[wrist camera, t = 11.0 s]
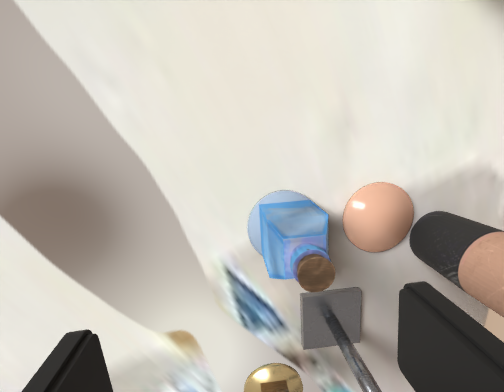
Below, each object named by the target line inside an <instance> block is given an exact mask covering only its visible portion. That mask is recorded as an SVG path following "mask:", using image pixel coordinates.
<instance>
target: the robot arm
mask: <svg viewBox="0 0 504 392" xmlns="http://www.w3.org/2000/svg"><path fill="white" fill-rule="evenodd" d="M398 365H399V368H400V370H401V372H402V373H403V375H404V376H405V378H406V379H407V380H408V382H409V383H410V385H411V386H412V387H413V389H414V390H415V392H504V343H503V342H502V341H501V340H499V339H498V338H497V337H496V336H495V335H493V334H492V333H491V332H489V331H488V330H487V329H486V328H484V327H483V326H482V325H481V324H479V323H478V322H477V321H475V320H474V319H473V318H472V317H470V316H469V315H468V314H467V313H465V312H464V311H463V310H461V309H460V308H459V307H458V306H456V305H455V304H454V303H453V302H451V301H450V300H449V299H447V298H446V297H445V296H444V295H442V294H441V293H440V292H439V291H437V290H436V289H435V288H433V287H432V286H431V285H430V284H428V283H427V282H416V283H409V284H405V286H404V288H403V289H402V290H400V293H399V323H398ZM22 392H113V389H112V385H111V382H110V378H109V374H108V371H107V367H106V363H105V360H104V356H103V352H102V349H101V345H100V341H99V338H98V335H97V334H92V332H91V331H90V330H81V331H74V332H69V333H66V334H65V335H64V337H63V338H62V339H61V341H60V342H59V343H58V345H57V346H56V347H55V348H54V350H53V351H52V352H51V354H50V355H49V356H48V358H47V359H46V360H45V362H44V363H43V364H42V366H41V367H40V368H39V369H38V371H37V372H36V373H35V375H34V376H33V377H32V379H31V380H30V381H29V383H28V384H27V385H26V387H25V388H24V389H23V391H22Z"/></svg>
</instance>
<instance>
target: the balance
mask: <svg viewBox="0 0 504 392" xmlns="http://www.w3.org/2000/svg"><path fill="white" fill-rule="evenodd" d="M300 300H301V338H302V347H303V349H304V350H305V349H313V348H320V347H328V346H336V345H338V346H339V347H340V349H341V351H342V353H343V355H344V357H345V359H346V361H347V362H348V364H349V366H350V368H351V370H352V372H353V374H354V376H355V377H356V379H357V381H358V383H359V385H360V387H361V389H362V391H363V392H382V391H381V390H380V388H379V386H378V385H377V383H376V381H375V380H374V378H373V376H372V375H371V373H370V371H369V370H368V368H367V366H366V365H365V363H364V361H363V360H362V358H361V357H360V355H359V353H358V352H357V350H356V348H355V347H354V345H353V343H359V342H360V318H361V290H360V289H359V288H358V287H354V288H345V289H336V290H327V291H320V292H310V293H301V294H300ZM244 392H303V385H302V381H301V378H300V376H299V374H298V373H297V371H296V370H295V369H293V368H292V367H290V366H288V365H285V364H281V363H271V364H267V365H264V366H261V367H259V368H257V369H256V370H254V371H253V372H252V373H251V374H250V375H249V377H248V378H247V380H246V382H245V385H244Z"/></svg>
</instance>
